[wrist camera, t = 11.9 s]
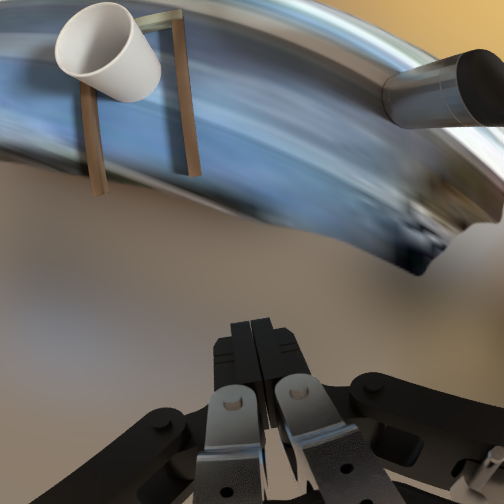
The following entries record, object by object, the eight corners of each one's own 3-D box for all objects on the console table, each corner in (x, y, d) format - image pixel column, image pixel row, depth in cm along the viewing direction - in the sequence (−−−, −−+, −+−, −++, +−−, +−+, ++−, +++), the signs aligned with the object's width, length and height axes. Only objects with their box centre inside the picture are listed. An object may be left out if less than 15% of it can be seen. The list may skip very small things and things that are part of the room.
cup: (156, 103, 37) (124, 73, 21) (101, 103, 35) (46, 80, 20) (165, 49, 34) (141, -2, 19) (111, 51, 33) (65, 8, 18)
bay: (183, 17, 33) (181, 8, 30) (201, 174, 40) (200, 175, 37) (85, 42, 32) (77, 36, 29) (99, 194, 39) (91, 197, 36)
